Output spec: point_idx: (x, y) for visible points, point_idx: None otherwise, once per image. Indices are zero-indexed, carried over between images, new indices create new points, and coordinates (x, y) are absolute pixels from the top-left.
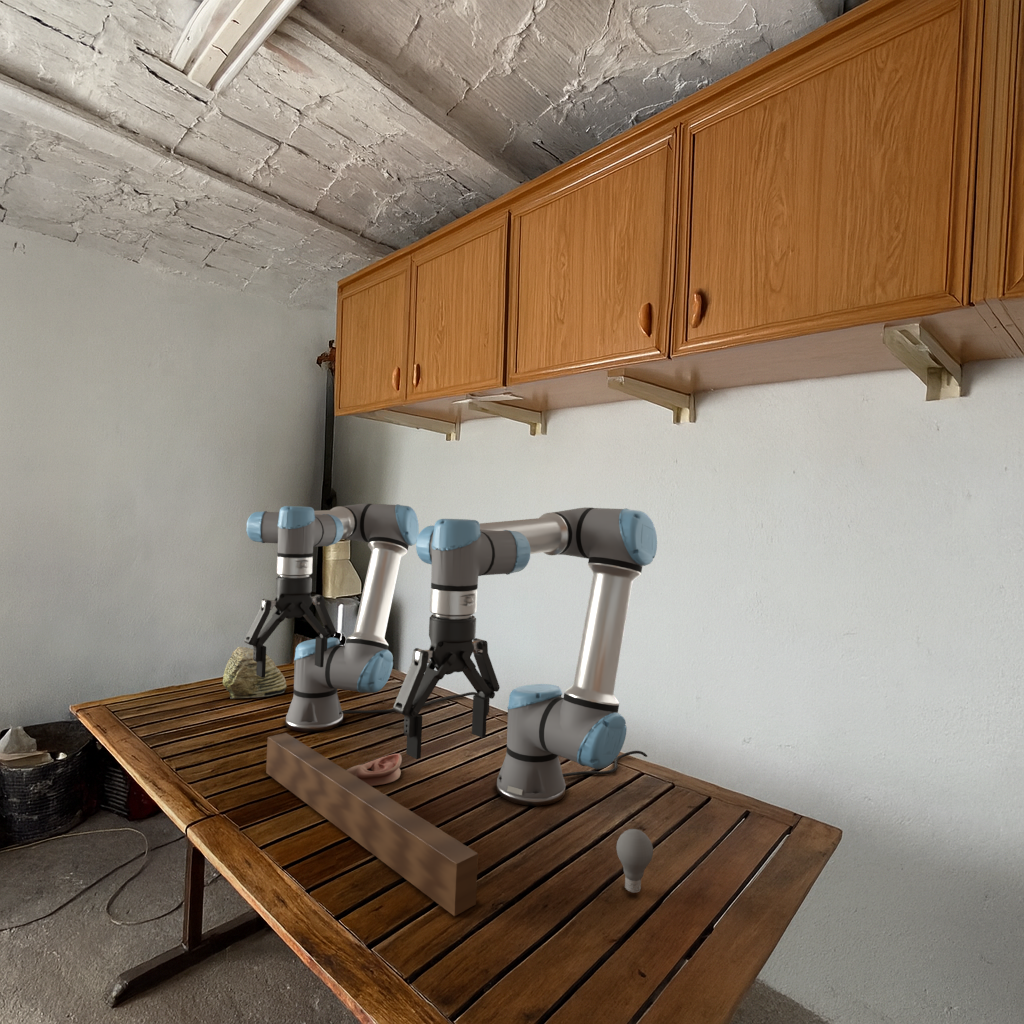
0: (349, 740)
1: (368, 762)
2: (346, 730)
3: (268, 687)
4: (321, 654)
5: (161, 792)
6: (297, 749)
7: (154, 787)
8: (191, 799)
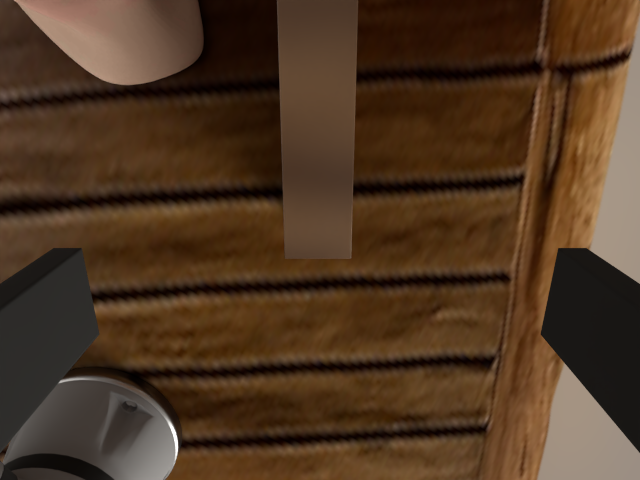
0: None
1: (91, 15)
2: None
3: None
4: (2, 302)
5: None
6: (323, 89)
7: None
8: (549, 191)
